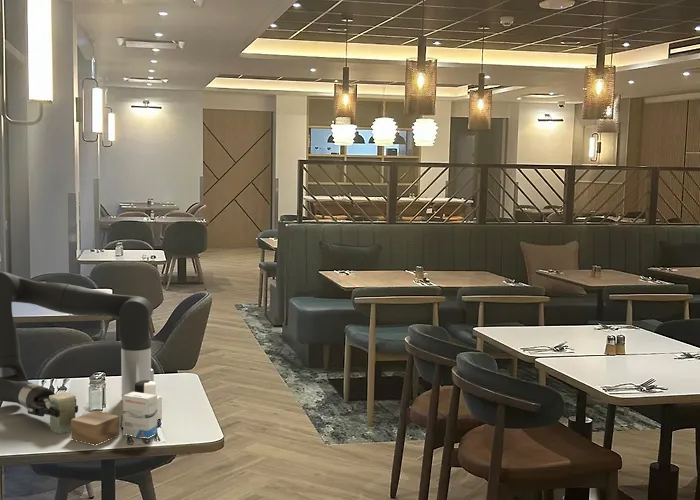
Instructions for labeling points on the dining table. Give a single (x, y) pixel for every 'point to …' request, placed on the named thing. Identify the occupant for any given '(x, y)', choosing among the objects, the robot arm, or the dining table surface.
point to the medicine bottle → (150, 388)
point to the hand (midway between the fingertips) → (67, 411)
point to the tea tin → (62, 412)
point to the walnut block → (94, 427)
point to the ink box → (139, 414)
